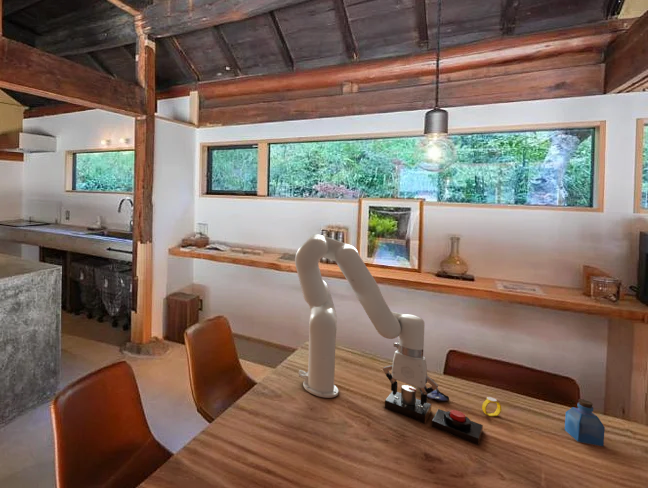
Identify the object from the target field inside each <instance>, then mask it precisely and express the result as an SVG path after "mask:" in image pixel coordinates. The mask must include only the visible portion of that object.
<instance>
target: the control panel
mask: <svg viewBox="0 0 648 488" xmlns="http://www.w3.org/2000/svg"><path fill="white" fill-rule="evenodd" d="M384 409H386V410H388V411H391V412H393V413H396V414H399V415H401V416H404V417H406V418H409V419H411V420H413V421H416V422H419V423H421V424H424V425H425V424H426V422H427V421H428V419H429V417H430V416H431V413H432V403H430V402H427V403H424V405H421V399H419V398H416V404H415V405H407V404H405V403H403V402H402V401H401V391H397V393H396V394H395V395H393V391H391V392H390V393H389V395H388V396H387V397H386V398H385V400H384Z"/></svg>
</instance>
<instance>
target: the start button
mask: <svg viewBox="0 0 648 488" xmlns="http://www.w3.org/2000/svg"><path fill="white" fill-rule="evenodd" d="M449 411H450V417H451V418H452V419H454V420H457V421H460V422H465V416H466V414H465V413H463V412H462V411H460V410H456V409H451V410H449Z"/></svg>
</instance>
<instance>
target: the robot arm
mask: <svg viewBox="0 0 648 488" xmlns="http://www.w3.org/2000/svg"><path fill="white" fill-rule="evenodd" d="M322 258H325V259H327V260H330V261H333V262H336V264H337V267H338V268H339V270H340V271H341V272H342V274H343V276H344V278H345V279H346V281H347V282H348V284H349V286H350V288H351V290H352V291H353V293H354V295H355V296H356V298H357V300H358V301H359V303H360V304H361V307H362V308H363V310H364V312H365V313H366V316H367V317H368V319H369V321H370V322H371V323H372V325H373V327H374V329H375V330H376V332H377V333H378V334H379V335H380V336H381V337H383V338H384V339H387V340H393V339H397V338H398V339H397V340H398V341H397V342H393V347H394V348H396V350H395V351H394V354H393V359H392V364H391V365H386V366H384V367H383V368H382V370H383V372H384V374H385V376H386V378H387V379H388V380H389V383H390V391H391V392H392V391H393V395H395V394H396V393H397V392H398V381H399V382H400V383H404V384H406V385H408V386H411V387H414V388H415V387H416V388H417V387H419V388H420V389H421V391H422V393H421V392H420V400H421V405H424V403H428V398H427V394H429V393H431V392H433V391H434V390H436V388H438V389H439V384H438V383H437V382H434V381H435V380H434V379H432V378H431V377H430V376H429V375H428V367H427V366H428V365H427V360H426V357H425V356H424V348H425V347H424V346H425V345H424V344H425V321H424V319H423V318H421V317H420V316H417V315H414V314H407V313H406V314H404V313H400V312H396V311H392V310H391V308H390V307H389V306H388V303H387V302H386V300H385V298H384V296H383V293H382V292H381V289H380V287H379V284H378V283H377V281H376V279H375V278H374V276H373V274H372V273H371V272H370V269H368V267H367V265H366V263H365V262H364V261H363V259H362V257H361V256H360V254H359V251H358V249H357V247H355V246H353V245H352V244H349V243H347V242H343V241H340V240H337V239H334V238H332V237H328V236H325V235H321V234H319V233H318V234H312V235H310V236H308V238H307V239H306V240H305V242H304V243H302V245H301V246H300V247H299V248H298V249H297V251H296V253H295V256H294V264H295V265H294V266H295V269H296V273H297V277H298V281H299V285H300V289H301V292H302V297H303V299H304V301H305V302H306V303H307V304H308V307H309V311H310V315H309V320H308V321H309V322H308V360H307V361H308V363H307V364H308V365H307V371H305V370H303V369H298V372H297V373H298V378H301V379H303V383H302V386H303V388H304V389H305V390H306V392H308V393H310V394H311V395H313V396H317V397H319V398H326V399H332V398H335V397H337V396H338V395H339V388H338V387H337V385H335V375H336V374H335V373H336V371H335V370H336V345H337V344H336V343H337V329H338V321H337V319H338V318H337V317H338V316H337V311H336V307H335V304H334V301H333V298H332V293H331V291H330V288H329V285H328V284H327V282H326V281H325V280H324V279H323V276H322V273H321V272H322V271H321V269H320V266H319V262H320V260H321V259H322ZM390 371H391V372H390ZM433 380H434V381H433ZM427 383H429V384H430V387H427Z"/></svg>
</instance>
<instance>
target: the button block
mask: <svg viewBox="0 0 648 488" xmlns="http://www.w3.org/2000/svg"><path fill="white" fill-rule="evenodd" d="M450 411H451V410H446V411H445V410H443V409H440V408H438V409H437V410H436V413H435V415H434V416H433V418H432V420H431V427H432V428H434V429H436V430H439V431H441V432H444V433H446V434H449V435H452V436H454V437H456V438H459V439H462V440H464V441H467V442H468V443H472V444H474V445H477V446H479V444H480V440H481V437H482V435H483V430H484V429H483V428H484V425H483V424H482V423H479V422H476V421H473V420H471V419H470V418H469V417H468V416H466V415H465V422H460V421H457V420H454V419H452V418H451V417H450Z"/></svg>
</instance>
